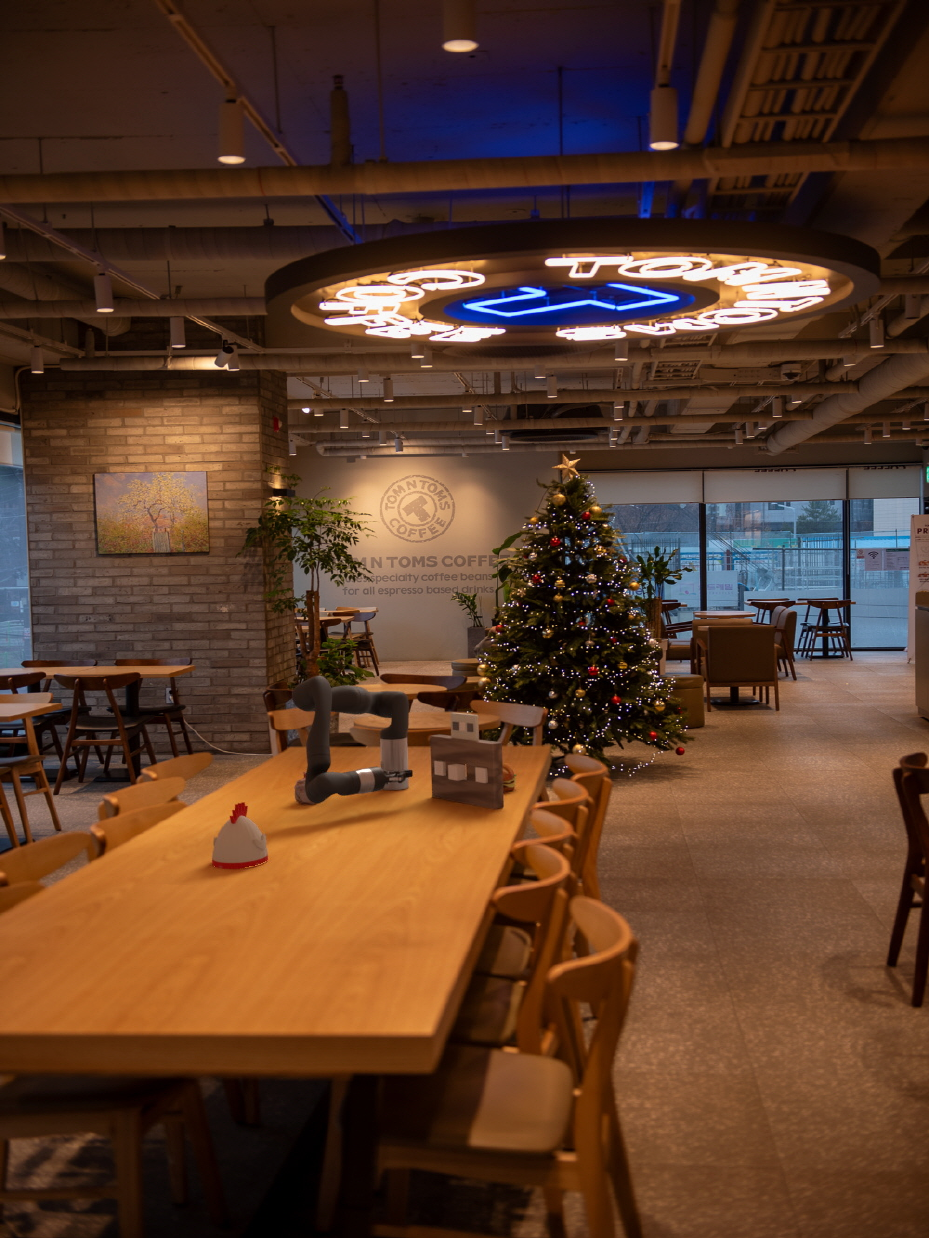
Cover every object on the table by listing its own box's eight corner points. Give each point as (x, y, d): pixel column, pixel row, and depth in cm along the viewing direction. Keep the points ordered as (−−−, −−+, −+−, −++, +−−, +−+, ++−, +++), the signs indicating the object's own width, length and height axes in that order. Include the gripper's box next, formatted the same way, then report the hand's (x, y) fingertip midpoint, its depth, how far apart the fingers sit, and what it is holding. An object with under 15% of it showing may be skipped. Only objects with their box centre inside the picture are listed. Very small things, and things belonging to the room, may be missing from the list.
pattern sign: (475, 741, 334) (474, 715, 334) (450, 737, 343) (449, 712, 343) (479, 740, 335) (478, 715, 335) (454, 737, 344) (453, 712, 344)
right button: (485, 783, 329) (484, 768, 329) (475, 781, 332) (475, 767, 332) (493, 781, 331) (493, 767, 331) (484, 779, 334) (483, 765, 334)
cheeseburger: (517, 785, 365) (516, 758, 362) (516, 799, 355) (515, 771, 352) (487, 785, 366) (486, 758, 363) (485, 798, 356) (484, 771, 353)
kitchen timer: (277, 856, 277) (275, 798, 276) (252, 870, 264) (250, 809, 263) (228, 854, 281) (226, 797, 280) (202, 868, 267) (199, 808, 267)
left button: (443, 775, 344) (442, 762, 344) (434, 774, 347) (434, 760, 347) (451, 774, 346) (451, 760, 346) (442, 772, 349) (442, 759, 349)
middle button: (457, 780, 335) (457, 766, 334) (448, 778, 338) (448, 765, 338) (465, 779, 337) (465, 765, 337) (456, 777, 340) (456, 763, 340)
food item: (317, 805, 341) (316, 775, 341) (293, 805, 342) (292, 775, 342) (329, 797, 355) (328, 767, 354) (305, 797, 356) (304, 768, 356)
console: (494, 809, 327) (492, 744, 327) (432, 796, 350) (430, 735, 350) (503, 807, 330) (501, 742, 330) (441, 794, 353) (439, 734, 352)
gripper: (379, 770, 321) (424, 763, 333) (353, 765, 331) (398, 759, 343) (379, 795, 322) (424, 787, 333) (354, 790, 332) (398, 782, 343)
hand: (411, 772), depth 338 cm, fingers closed
